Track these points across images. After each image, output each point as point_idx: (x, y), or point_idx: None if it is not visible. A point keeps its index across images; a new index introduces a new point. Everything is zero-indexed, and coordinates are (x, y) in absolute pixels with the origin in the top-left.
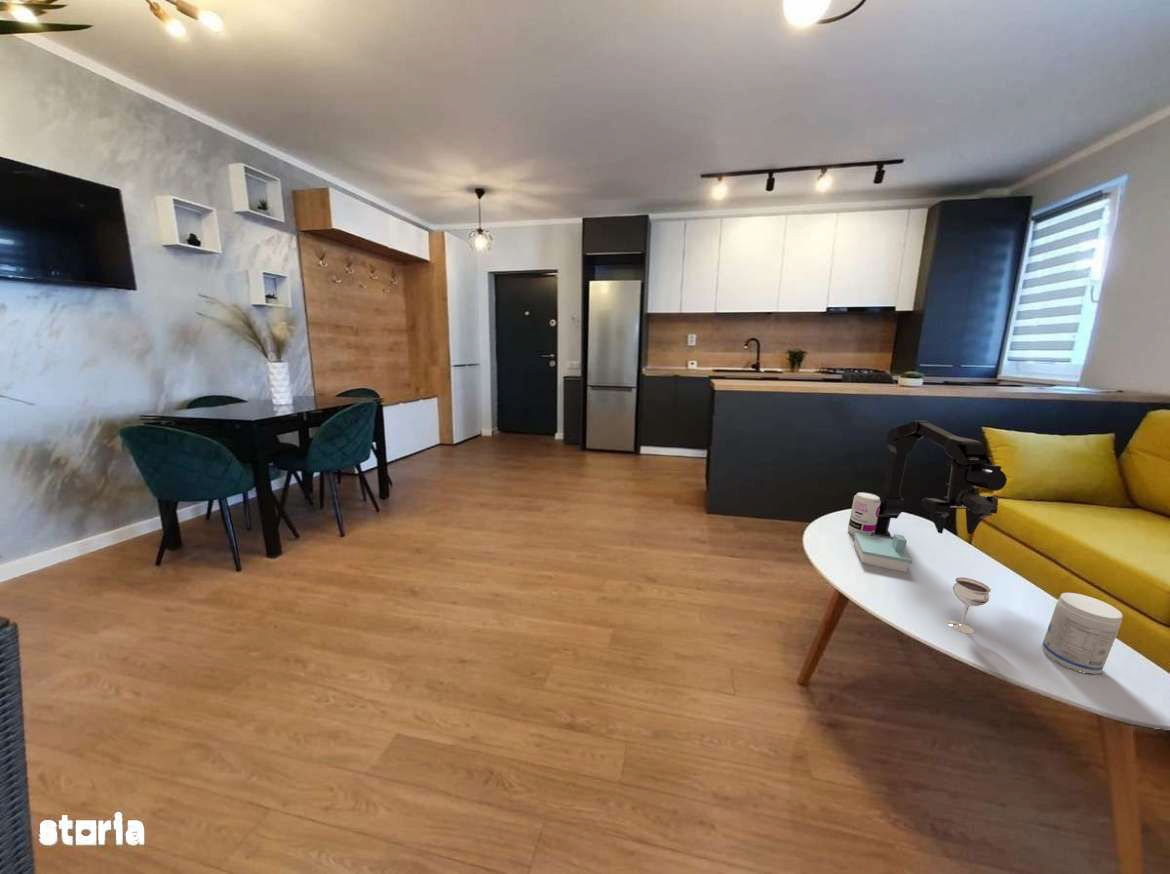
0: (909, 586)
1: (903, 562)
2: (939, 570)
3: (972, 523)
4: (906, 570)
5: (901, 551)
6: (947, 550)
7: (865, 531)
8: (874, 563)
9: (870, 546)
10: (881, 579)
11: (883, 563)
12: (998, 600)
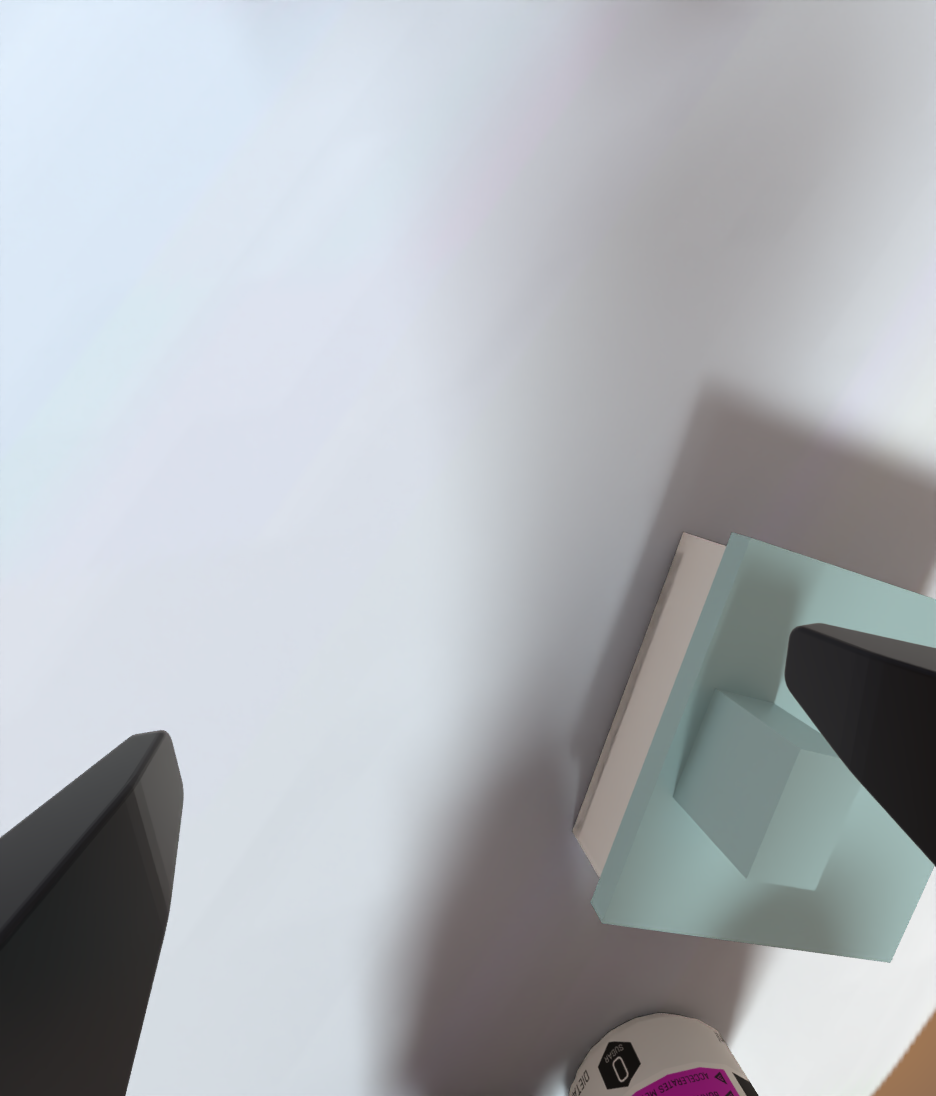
0: (803, 314)
1: None
2: (379, 610)
3: (49, 993)
4: (692, 536)
5: (734, 694)
6: None
7: (701, 1064)
8: None
9: None
10: (930, 397)
11: None
12: (182, 131)
